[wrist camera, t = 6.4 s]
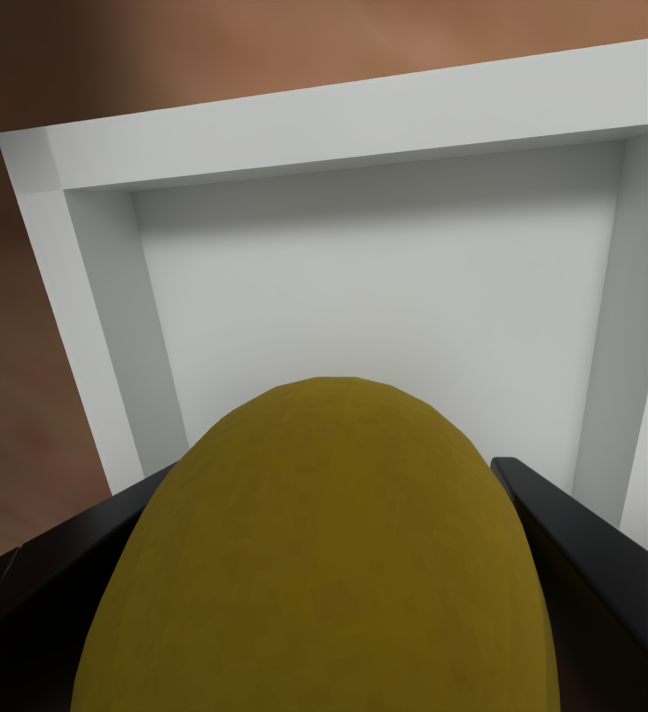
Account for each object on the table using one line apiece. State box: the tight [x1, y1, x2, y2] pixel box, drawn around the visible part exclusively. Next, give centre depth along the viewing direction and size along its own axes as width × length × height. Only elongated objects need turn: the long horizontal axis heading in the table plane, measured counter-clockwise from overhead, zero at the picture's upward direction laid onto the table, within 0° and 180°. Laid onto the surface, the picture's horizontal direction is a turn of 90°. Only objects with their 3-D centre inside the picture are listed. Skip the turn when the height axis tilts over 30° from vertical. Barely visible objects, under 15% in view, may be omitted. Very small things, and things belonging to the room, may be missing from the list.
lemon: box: [70, 377, 561, 712], centre depth 6 cm, size 6×6×8 cm
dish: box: [0, 39, 648, 550], centre depth 11 cm, size 14×14×3 cm
